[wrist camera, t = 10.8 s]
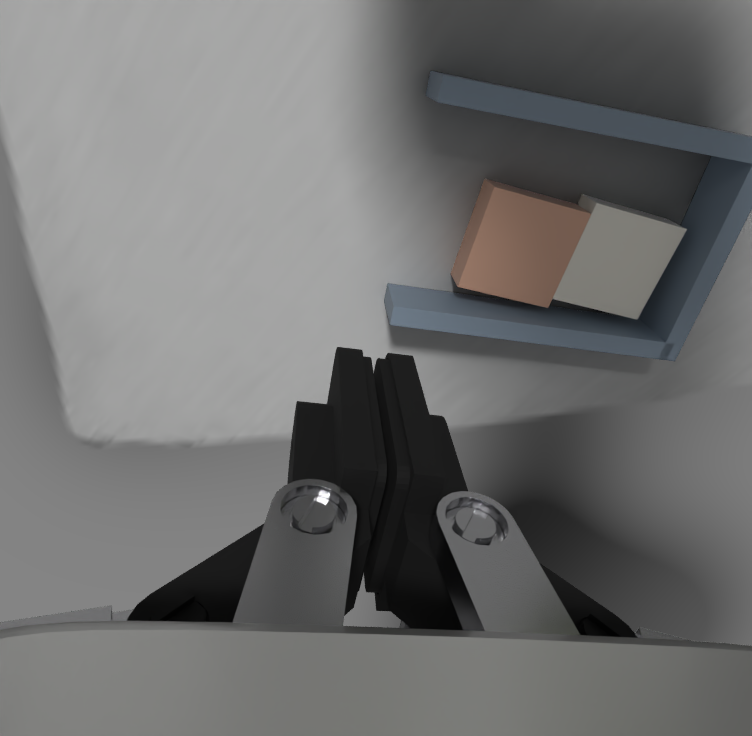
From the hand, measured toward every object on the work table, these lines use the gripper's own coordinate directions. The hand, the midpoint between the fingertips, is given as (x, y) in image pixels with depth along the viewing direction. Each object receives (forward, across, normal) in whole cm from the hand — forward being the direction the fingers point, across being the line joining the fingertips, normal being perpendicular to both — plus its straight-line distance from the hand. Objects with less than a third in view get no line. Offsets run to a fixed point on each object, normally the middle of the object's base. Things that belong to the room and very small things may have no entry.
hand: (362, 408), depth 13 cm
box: (+23, -13, 0) cm, 26 cm away
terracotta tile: (+23, -11, +2) cm, 26 cm away
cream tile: (+23, -17, +2) cm, 29 cm away
